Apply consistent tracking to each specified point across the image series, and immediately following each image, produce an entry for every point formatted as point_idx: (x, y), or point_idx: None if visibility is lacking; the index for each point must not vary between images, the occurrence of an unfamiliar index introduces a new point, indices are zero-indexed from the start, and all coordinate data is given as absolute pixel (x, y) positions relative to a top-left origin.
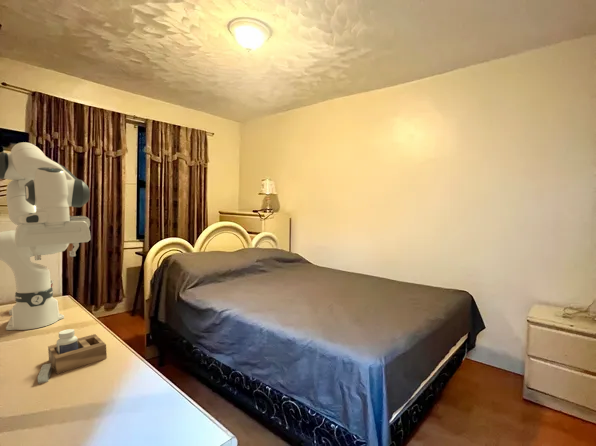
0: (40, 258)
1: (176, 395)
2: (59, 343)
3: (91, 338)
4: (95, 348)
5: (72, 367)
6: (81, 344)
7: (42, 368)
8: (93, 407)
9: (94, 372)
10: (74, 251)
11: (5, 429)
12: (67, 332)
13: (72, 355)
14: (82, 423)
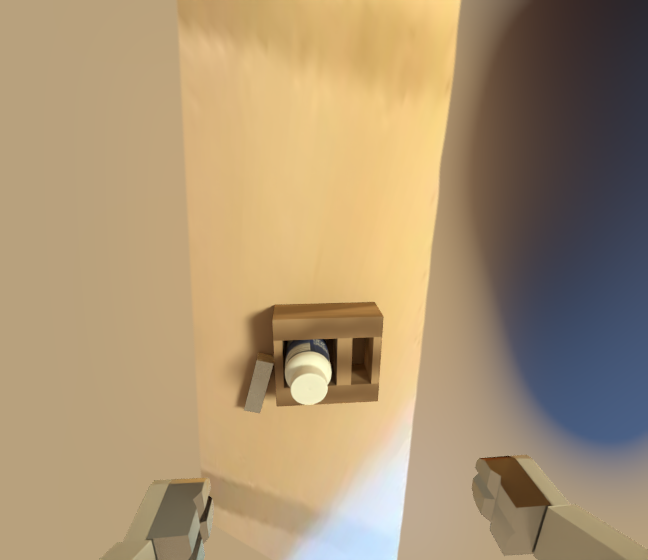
0: (203, 534)
1: (393, 548)
2: (289, 386)
3: (367, 336)
4: (354, 400)
5: None
6: (337, 364)
7: (254, 378)
8: (302, 514)
9: (333, 422)
10: (541, 551)
11: None
12: (309, 399)
13: None
14: (283, 536)
